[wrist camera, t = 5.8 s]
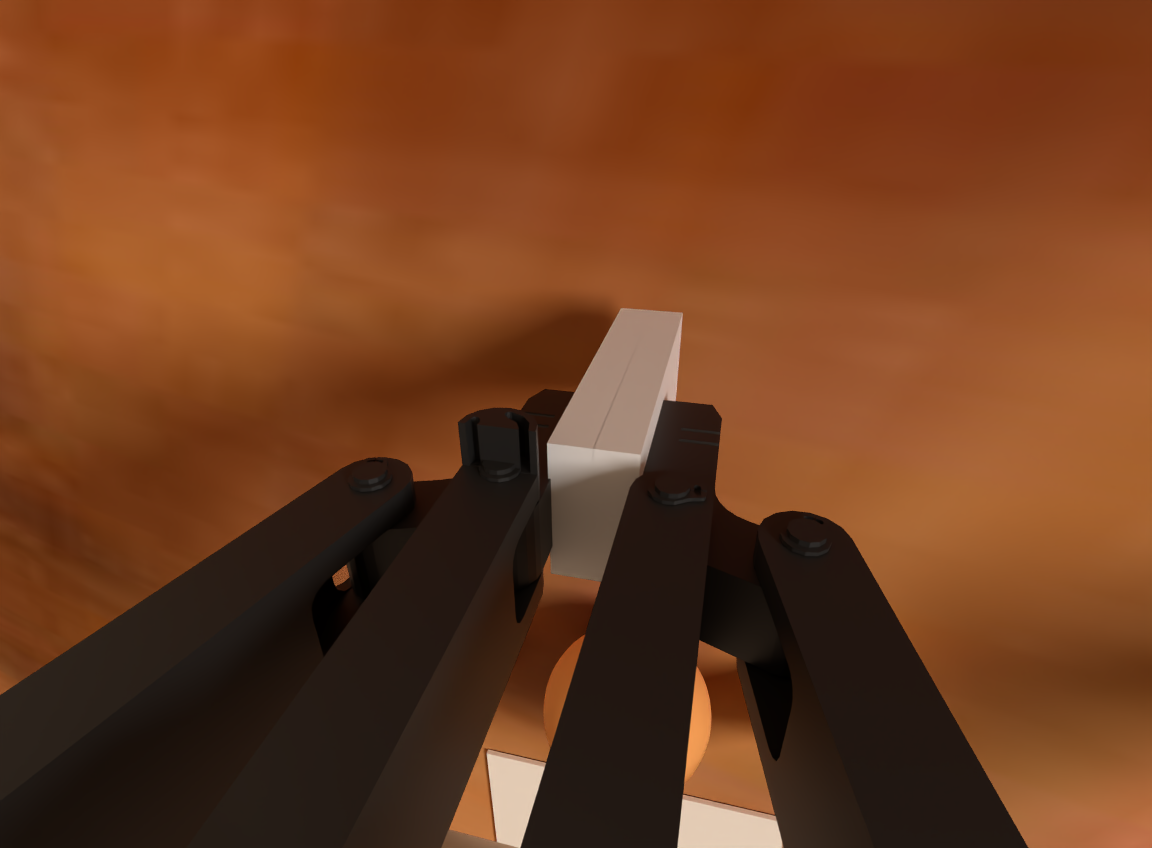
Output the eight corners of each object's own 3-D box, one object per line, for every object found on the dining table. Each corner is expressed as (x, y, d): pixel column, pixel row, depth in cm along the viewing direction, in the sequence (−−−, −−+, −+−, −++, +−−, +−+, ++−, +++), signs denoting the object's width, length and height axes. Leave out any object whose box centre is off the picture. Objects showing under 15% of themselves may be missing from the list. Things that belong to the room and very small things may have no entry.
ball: (699, 838, 21) (706, 808, 17) (539, 799, 22) (508, 762, 18) (714, 670, 25) (722, 611, 20) (574, 645, 26) (554, 584, 22)
